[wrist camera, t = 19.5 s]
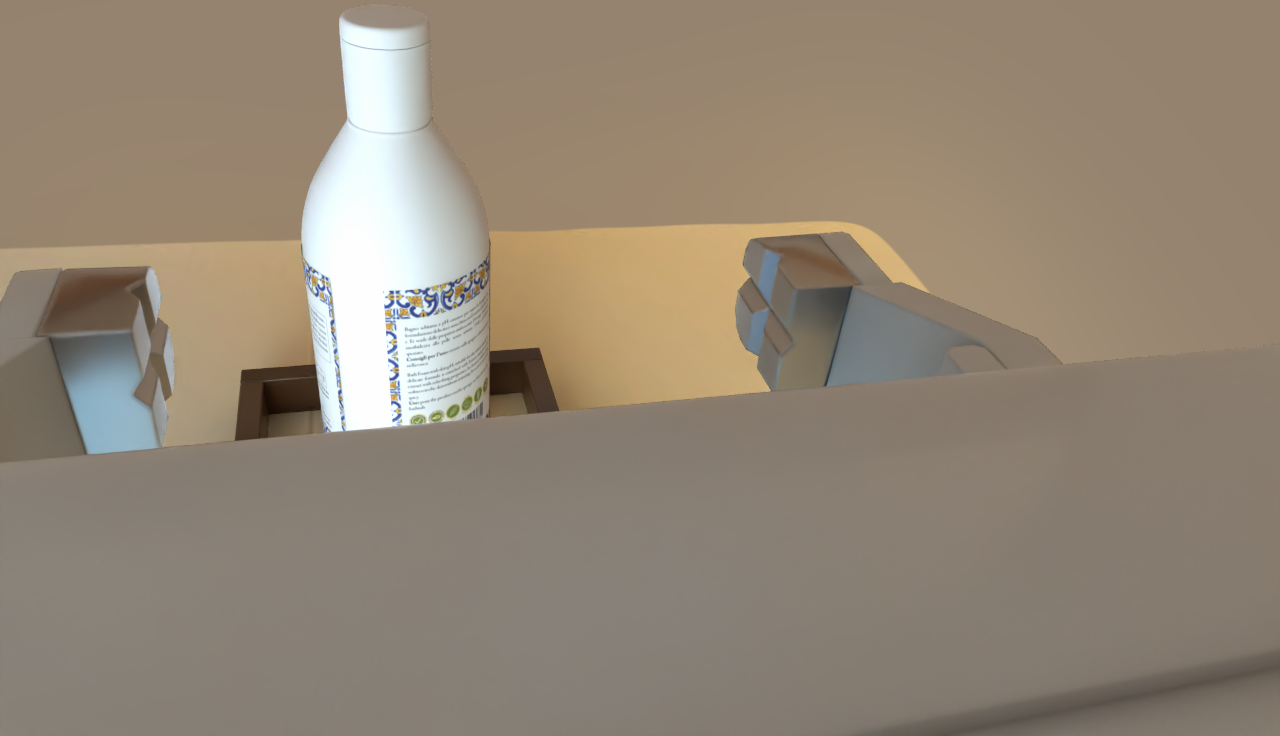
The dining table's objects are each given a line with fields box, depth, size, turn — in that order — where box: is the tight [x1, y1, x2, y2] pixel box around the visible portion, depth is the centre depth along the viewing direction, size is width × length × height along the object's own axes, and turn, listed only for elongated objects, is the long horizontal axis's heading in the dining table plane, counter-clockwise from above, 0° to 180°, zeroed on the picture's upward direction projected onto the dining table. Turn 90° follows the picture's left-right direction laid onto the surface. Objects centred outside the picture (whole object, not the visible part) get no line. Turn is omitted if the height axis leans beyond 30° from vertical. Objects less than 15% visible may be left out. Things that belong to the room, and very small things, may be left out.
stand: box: [235, 348, 559, 441], centre depth 43 cm, size 13×14×2 cm
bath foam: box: [301, 4, 490, 433], centre depth 38 cm, size 7×7×20 cm
